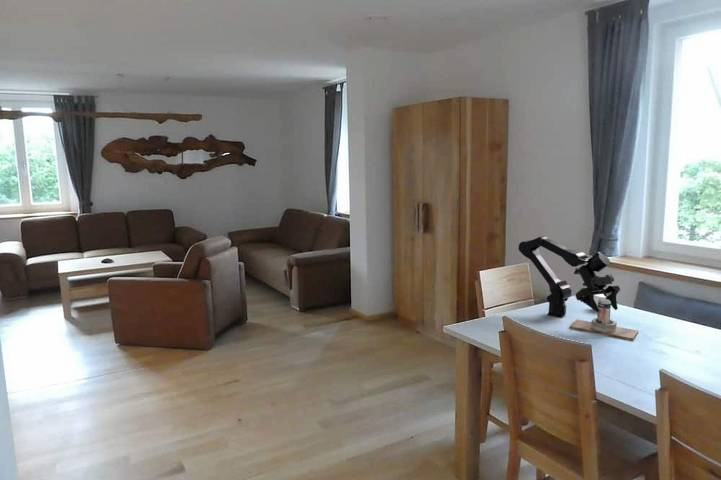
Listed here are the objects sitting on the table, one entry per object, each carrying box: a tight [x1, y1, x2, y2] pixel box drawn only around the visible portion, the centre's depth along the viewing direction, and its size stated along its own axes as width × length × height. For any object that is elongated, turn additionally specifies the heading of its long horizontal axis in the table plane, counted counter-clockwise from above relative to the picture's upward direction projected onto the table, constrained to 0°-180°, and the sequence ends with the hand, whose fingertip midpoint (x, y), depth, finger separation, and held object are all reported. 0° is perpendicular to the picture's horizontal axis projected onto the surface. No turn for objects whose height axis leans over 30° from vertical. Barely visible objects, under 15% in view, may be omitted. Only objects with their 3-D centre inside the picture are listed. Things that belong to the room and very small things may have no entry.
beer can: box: [596, 299, 612, 324], centre depth 211 cm, size 5×5×12 cm
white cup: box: [594, 294, 606, 306], centre depth 239 cm, size 7×7×7 cm
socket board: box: [569, 317, 639, 342], centre depth 211 cm, size 24×11×4 cm, turn 52°
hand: (607, 310), depth 209 cm, fingers open, 9 cm apart
